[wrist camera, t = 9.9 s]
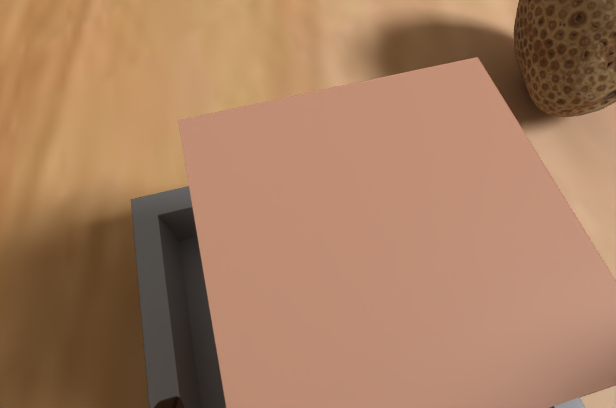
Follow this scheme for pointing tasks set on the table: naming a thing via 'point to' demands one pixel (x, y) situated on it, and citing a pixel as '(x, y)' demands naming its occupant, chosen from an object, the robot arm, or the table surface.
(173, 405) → the robot arm
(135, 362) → the table surface
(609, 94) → the natural sponge
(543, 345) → the carton
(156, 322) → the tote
